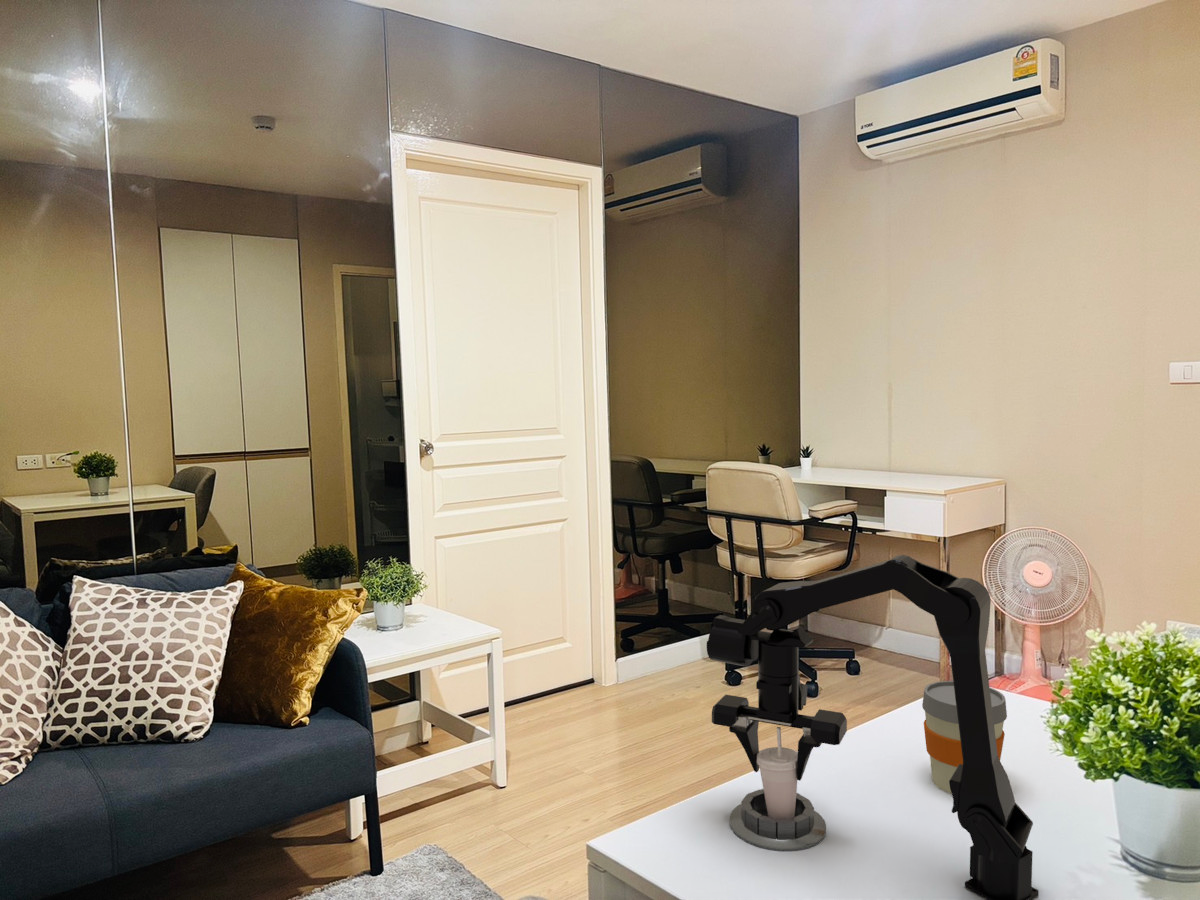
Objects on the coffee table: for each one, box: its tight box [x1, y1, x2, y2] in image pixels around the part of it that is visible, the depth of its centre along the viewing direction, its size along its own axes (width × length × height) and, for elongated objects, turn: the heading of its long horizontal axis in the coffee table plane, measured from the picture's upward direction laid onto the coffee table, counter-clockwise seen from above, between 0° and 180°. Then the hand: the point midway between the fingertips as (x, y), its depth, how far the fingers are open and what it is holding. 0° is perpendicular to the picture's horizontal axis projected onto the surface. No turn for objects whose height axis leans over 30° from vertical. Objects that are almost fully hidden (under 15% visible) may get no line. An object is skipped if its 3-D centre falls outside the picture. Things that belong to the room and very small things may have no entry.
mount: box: [729, 788, 827, 852], centre depth 129 cm, size 14×14×3 cm
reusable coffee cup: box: [921, 680, 1008, 795], centre depth 141 cm, size 12×13×15 cm
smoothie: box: [757, 726, 798, 819], centre depth 128 cm, size 6×6×14 cm
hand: (778, 775), depth 128 cm, fingers closed on smoothie, 6 cm apart
